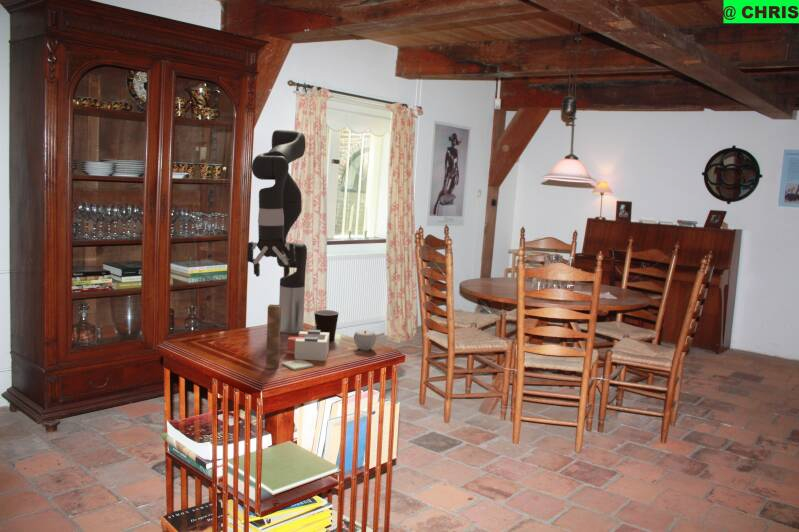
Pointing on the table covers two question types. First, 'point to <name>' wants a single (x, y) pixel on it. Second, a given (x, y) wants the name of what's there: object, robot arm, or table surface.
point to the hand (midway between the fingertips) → (271, 276)
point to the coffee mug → (326, 322)
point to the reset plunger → (292, 342)
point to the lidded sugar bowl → (364, 339)
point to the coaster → (297, 364)
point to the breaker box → (312, 345)
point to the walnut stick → (273, 336)
